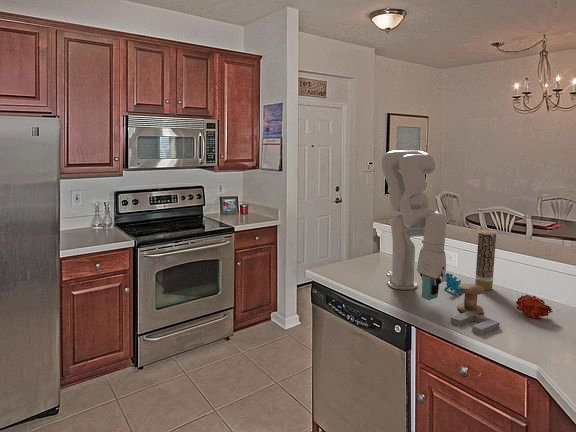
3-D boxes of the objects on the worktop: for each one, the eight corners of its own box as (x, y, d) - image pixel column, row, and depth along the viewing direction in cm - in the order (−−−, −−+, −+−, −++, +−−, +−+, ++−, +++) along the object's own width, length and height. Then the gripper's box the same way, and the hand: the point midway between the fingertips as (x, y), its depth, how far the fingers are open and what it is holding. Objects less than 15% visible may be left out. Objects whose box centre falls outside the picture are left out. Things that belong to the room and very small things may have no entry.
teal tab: (421, 297, 168) (422, 275, 166) (430, 294, 171) (431, 272, 168) (428, 300, 165) (430, 278, 163) (437, 297, 168) (439, 275, 165)
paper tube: (493, 291, 185) (498, 233, 180) (476, 290, 186) (480, 233, 182) (490, 286, 192) (494, 230, 187) (473, 285, 193) (477, 229, 188)
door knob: (452, 309, 167) (453, 286, 165) (467, 304, 171) (468, 282, 170) (473, 317, 159) (474, 293, 158) (488, 311, 164) (489, 288, 162)
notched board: (450, 322, 155) (451, 317, 155) (468, 316, 160) (468, 311, 160) (481, 335, 145) (481, 329, 145) (499, 327, 150) (499, 322, 150)
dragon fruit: (512, 314, 165) (547, 328, 157) (509, 308, 159) (546, 322, 151) (521, 294, 166) (556, 307, 159) (518, 287, 160) (555, 300, 152)
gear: (455, 293, 178) (442, 272, 183) (445, 301, 182) (432, 280, 186) (469, 291, 185) (456, 271, 190) (458, 298, 189) (446, 278, 194)
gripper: (409, 242, 168) (406, 287, 172) (445, 254, 154) (441, 302, 159) (423, 239, 172) (420, 283, 176) (459, 250, 158) (454, 297, 163)
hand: (430, 291), depth 167 cm, fingers closed on teal tab, 3 cm apart
